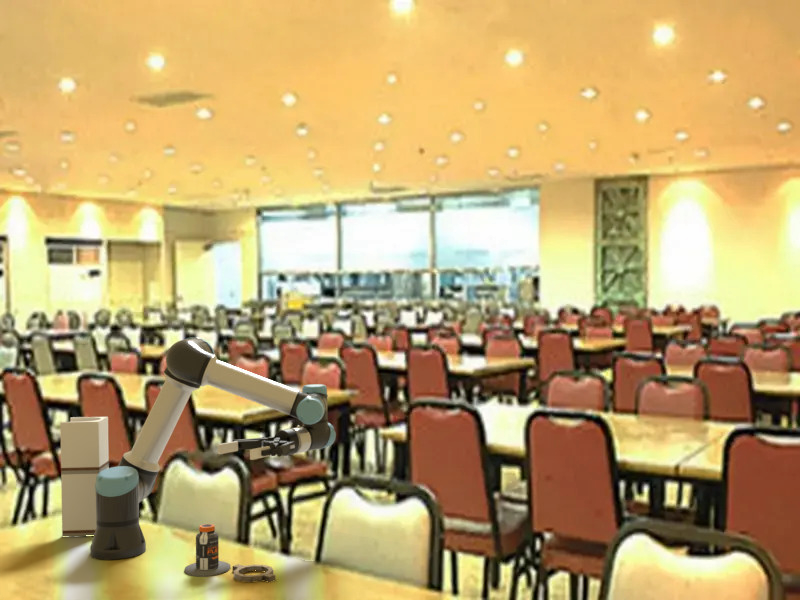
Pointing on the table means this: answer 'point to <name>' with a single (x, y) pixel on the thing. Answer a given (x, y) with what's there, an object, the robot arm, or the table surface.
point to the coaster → (220, 569)
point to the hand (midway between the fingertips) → (234, 451)
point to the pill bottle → (207, 548)
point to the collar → (250, 578)
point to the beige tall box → (82, 471)
